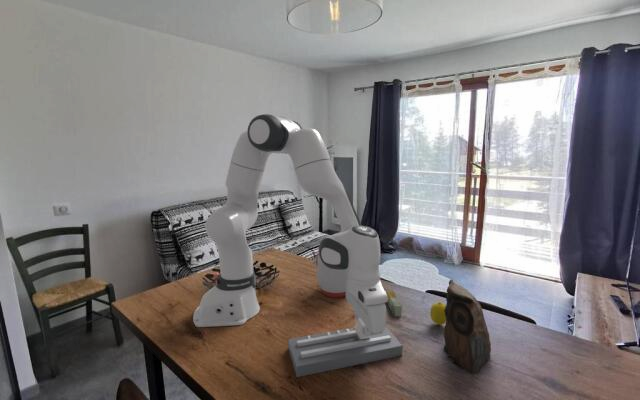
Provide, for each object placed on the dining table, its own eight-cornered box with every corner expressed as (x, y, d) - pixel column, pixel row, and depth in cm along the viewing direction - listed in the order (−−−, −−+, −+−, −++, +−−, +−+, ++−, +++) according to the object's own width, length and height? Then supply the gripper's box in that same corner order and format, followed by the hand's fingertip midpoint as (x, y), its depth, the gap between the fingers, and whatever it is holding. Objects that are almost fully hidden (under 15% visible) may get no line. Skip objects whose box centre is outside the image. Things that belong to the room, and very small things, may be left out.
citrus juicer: (315, 281, 138) (314, 236, 134) (356, 283, 135) (356, 238, 132) (309, 299, 122) (308, 249, 119) (354, 301, 120) (355, 250, 117)
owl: (474, 378, 81) (480, 305, 77) (428, 355, 90) (431, 288, 86) (493, 355, 89) (499, 288, 85) (448, 336, 98) (452, 274, 95)
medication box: (401, 317, 110) (402, 306, 109) (393, 317, 110) (394, 306, 109) (392, 300, 121) (393, 290, 121) (385, 300, 121) (385, 290, 121)
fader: (360, 343, 90) (360, 326, 89) (355, 334, 94) (355, 318, 93) (370, 341, 91) (370, 324, 90) (364, 333, 95) (365, 317, 94)
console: (296, 377, 82) (296, 363, 81) (288, 348, 93) (287, 335, 93) (402, 355, 90) (402, 342, 89) (382, 331, 101) (382, 319, 101)
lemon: (449, 330, 101) (450, 307, 100) (430, 329, 102) (432, 305, 101) (446, 321, 106) (447, 298, 105) (428, 319, 107) (429, 297, 106)
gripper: (340, 271, 98) (340, 313, 101) (368, 303, 79) (367, 353, 82) (359, 269, 100) (359, 310, 103) (391, 299, 81) (389, 348, 83)
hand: (363, 329), depth 92 cm, fingers closed on fader, 4 cm apart
